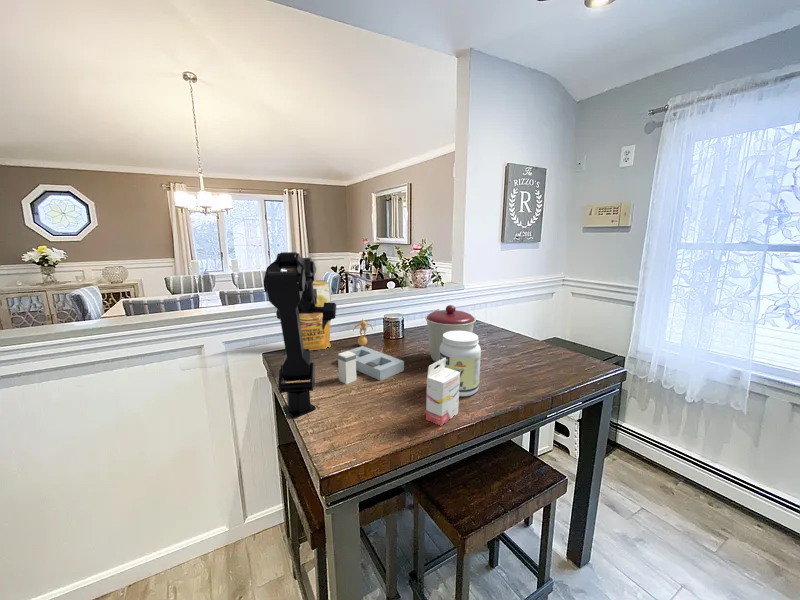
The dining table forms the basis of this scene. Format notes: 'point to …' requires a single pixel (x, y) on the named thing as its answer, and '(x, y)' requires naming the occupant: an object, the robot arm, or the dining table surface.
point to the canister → (446, 326)
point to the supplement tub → (462, 358)
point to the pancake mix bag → (316, 321)
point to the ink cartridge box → (442, 393)
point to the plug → (347, 367)
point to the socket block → (376, 363)
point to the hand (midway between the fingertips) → (309, 329)
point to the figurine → (362, 339)
